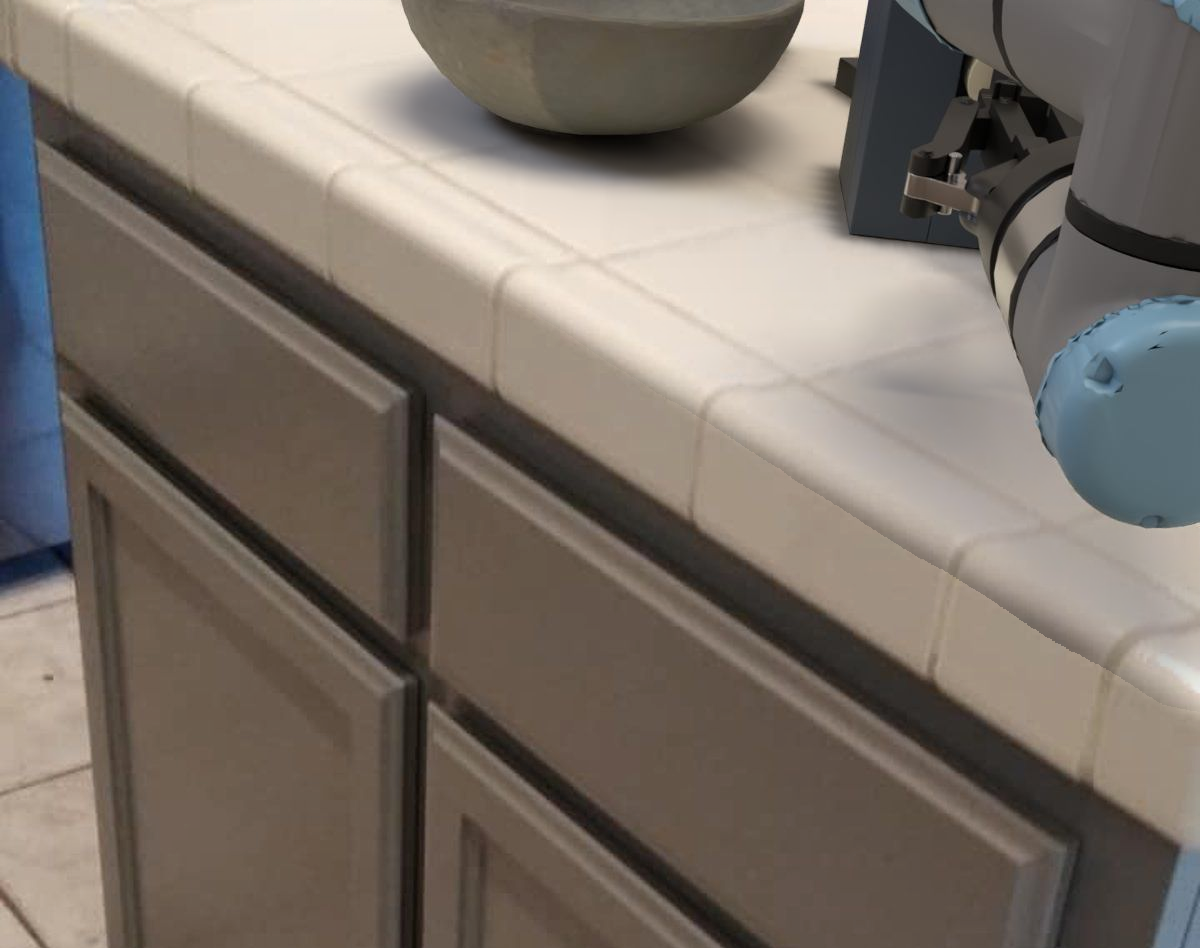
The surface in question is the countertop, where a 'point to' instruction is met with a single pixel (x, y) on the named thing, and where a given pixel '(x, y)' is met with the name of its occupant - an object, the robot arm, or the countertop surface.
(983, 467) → the countertop surface
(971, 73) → the power button
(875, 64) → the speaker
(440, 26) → the bowl
